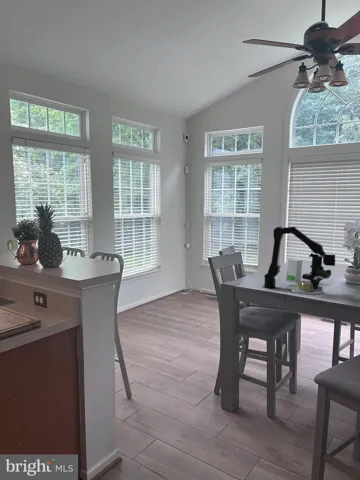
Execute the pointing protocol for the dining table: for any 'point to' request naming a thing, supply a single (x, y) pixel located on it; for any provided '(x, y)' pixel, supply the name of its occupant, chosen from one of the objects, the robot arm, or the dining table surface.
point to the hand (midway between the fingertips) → (315, 289)
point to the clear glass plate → (302, 291)
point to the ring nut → (308, 286)
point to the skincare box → (294, 270)
